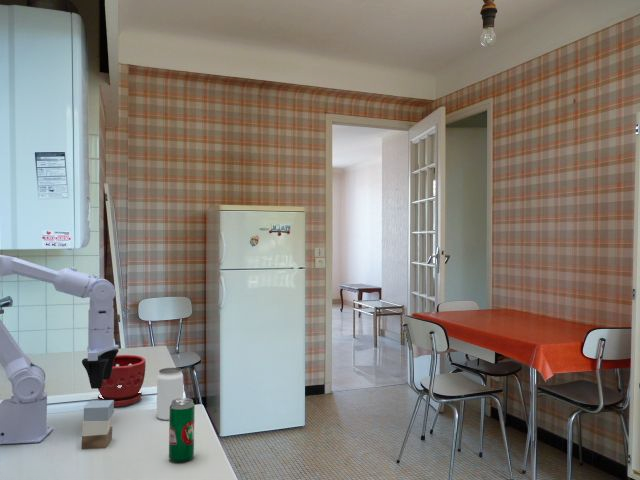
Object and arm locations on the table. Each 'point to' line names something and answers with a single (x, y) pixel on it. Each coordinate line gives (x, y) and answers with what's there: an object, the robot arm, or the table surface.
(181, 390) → the can
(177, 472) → the table surface
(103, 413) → the slate block
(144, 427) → the table surface
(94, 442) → the walnut block
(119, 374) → the plant pot
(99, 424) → the cream block
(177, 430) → the soda can
